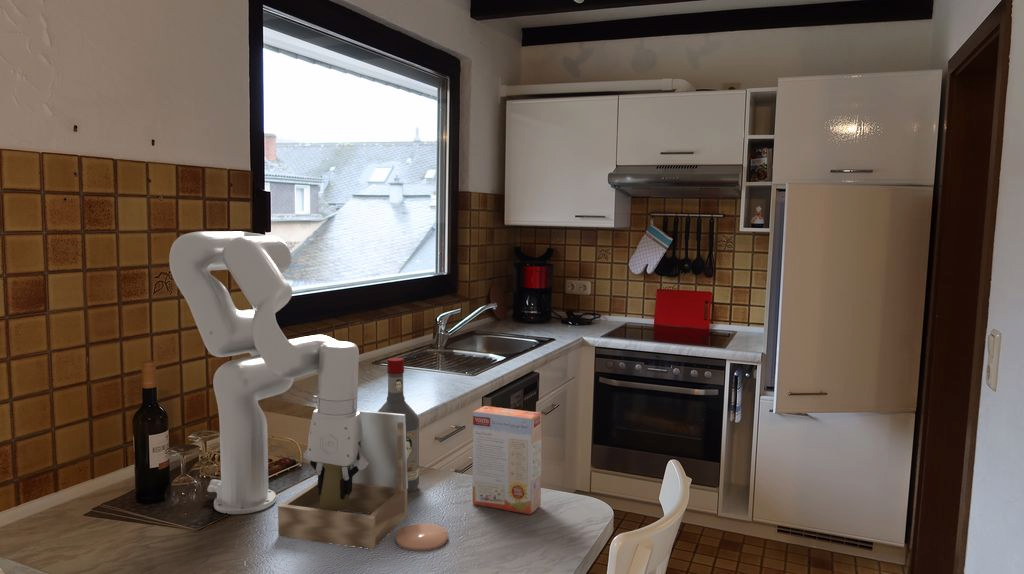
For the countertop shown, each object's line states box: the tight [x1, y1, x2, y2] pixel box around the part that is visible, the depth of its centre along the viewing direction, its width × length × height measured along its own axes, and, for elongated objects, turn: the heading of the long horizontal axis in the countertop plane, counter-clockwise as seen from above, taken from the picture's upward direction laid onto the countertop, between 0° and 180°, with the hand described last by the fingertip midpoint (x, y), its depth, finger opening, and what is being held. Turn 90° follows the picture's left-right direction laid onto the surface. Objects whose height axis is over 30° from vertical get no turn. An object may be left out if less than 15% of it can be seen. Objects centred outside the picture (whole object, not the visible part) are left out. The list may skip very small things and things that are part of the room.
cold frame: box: [277, 406, 408, 550], centre depth 145 cm, size 20×16×22 cm
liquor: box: [377, 357, 420, 494], centre depth 166 cm, size 9×9×30 cm
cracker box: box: [472, 405, 543, 515], centre depth 157 cm, size 14×6×21 cm, turn 65°
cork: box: [319, 463, 350, 512], centre depth 144 cm, size 6×6×11 cm
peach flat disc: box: [395, 522, 449, 552], centre depth 141 cm, size 10×10×1 cm
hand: (334, 493), depth 144 cm, fingers closed on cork, 4 cm apart
